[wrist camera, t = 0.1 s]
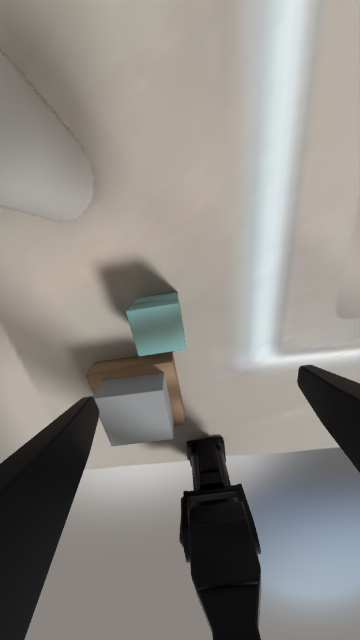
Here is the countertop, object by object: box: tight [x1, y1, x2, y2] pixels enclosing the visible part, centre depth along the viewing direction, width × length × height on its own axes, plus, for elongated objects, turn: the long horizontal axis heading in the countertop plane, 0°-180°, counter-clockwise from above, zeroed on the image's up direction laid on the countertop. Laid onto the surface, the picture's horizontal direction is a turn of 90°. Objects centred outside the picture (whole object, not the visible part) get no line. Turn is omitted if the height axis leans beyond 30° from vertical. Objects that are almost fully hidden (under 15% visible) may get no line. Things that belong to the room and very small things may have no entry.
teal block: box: [126, 292, 186, 356], centre depth 19 cm, size 5×5×5 cm
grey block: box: [93, 373, 174, 446], centre depth 22 cm, size 8×8×3 cm
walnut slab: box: [86, 351, 185, 426], centre depth 25 cm, size 11×11×3 cm
